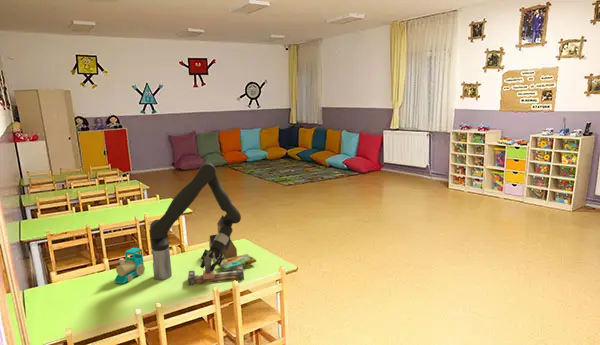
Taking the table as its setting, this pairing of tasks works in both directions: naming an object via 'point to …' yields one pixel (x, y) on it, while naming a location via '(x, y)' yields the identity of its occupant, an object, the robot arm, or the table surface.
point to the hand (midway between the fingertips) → (206, 269)
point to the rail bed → (224, 278)
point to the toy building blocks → (229, 249)
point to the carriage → (208, 269)
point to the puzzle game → (236, 262)
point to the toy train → (130, 266)
